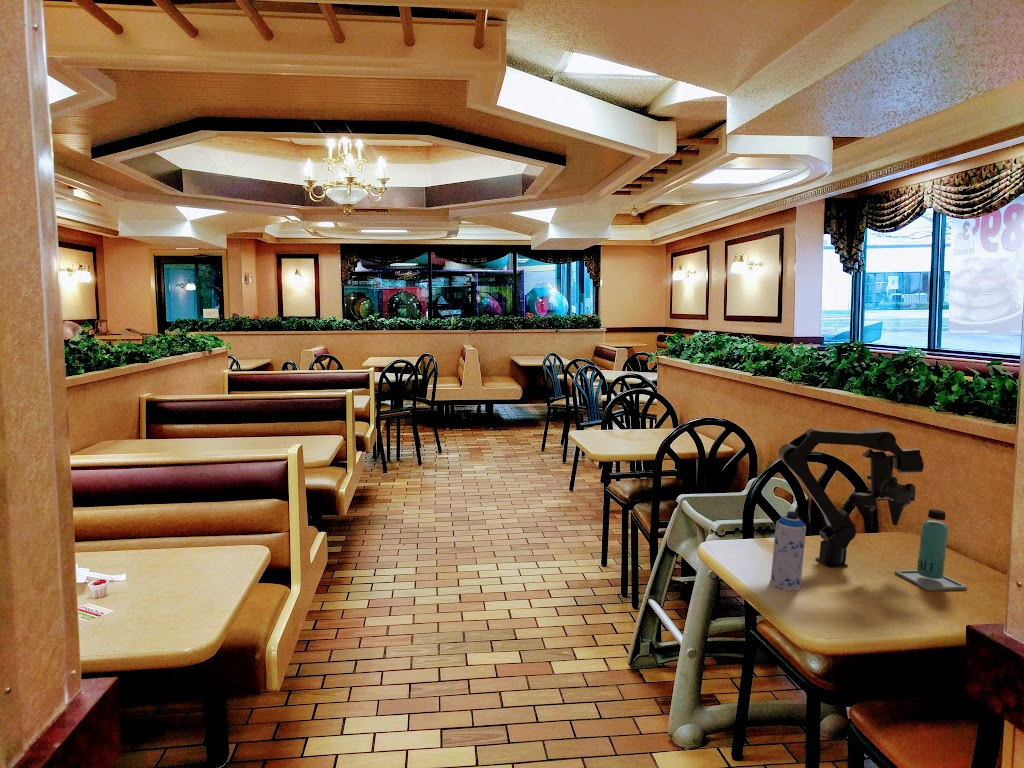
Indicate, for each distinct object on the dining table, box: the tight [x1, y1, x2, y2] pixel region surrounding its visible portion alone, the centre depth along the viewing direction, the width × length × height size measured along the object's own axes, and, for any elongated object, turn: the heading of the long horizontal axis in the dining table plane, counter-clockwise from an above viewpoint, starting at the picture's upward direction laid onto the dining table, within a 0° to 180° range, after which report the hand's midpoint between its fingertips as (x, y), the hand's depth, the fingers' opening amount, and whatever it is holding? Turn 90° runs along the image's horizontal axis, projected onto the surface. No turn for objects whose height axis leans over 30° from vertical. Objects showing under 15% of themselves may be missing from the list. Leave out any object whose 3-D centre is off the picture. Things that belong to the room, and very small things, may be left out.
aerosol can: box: [769, 510, 807, 592], centre depth 182 cm, size 8×8×20 cm
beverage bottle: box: [916, 508, 950, 579], centre depth 190 cm, size 6×7×20 cm
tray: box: [894, 569, 968, 592], centre depth 191 cm, size 12×12×1 cm
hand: (882, 526), depth 197 cm, fingers open, 9 cm apart
